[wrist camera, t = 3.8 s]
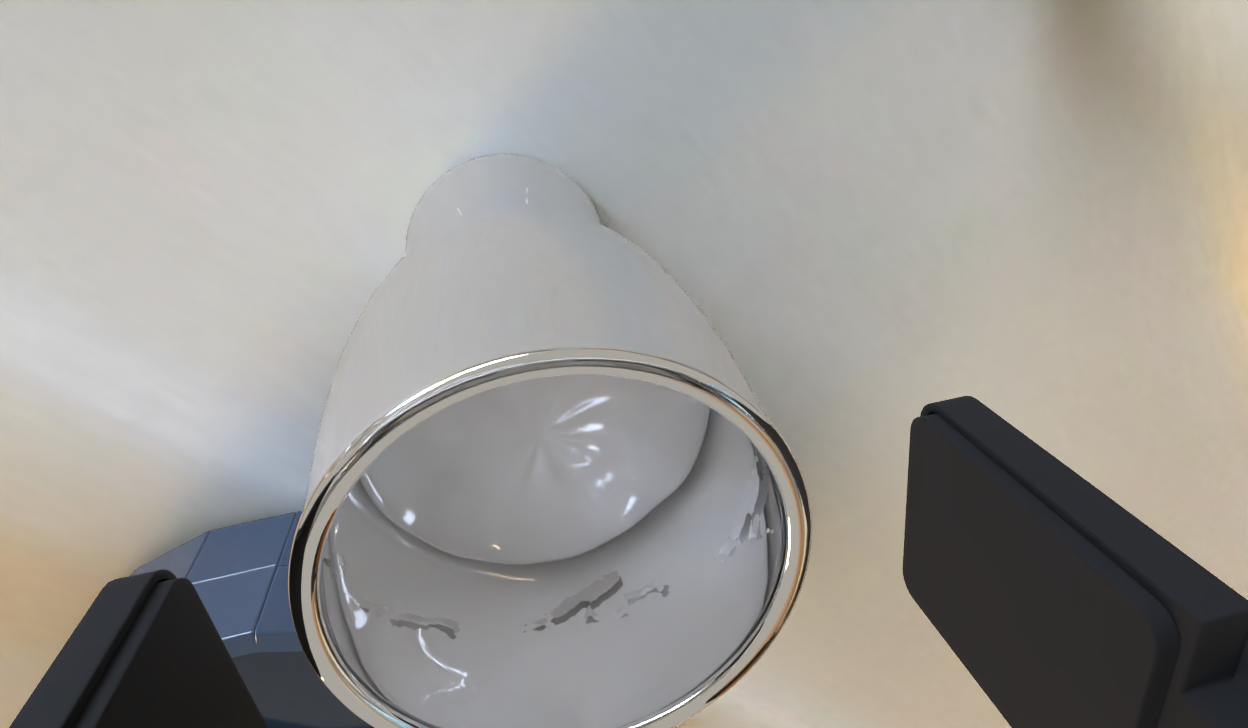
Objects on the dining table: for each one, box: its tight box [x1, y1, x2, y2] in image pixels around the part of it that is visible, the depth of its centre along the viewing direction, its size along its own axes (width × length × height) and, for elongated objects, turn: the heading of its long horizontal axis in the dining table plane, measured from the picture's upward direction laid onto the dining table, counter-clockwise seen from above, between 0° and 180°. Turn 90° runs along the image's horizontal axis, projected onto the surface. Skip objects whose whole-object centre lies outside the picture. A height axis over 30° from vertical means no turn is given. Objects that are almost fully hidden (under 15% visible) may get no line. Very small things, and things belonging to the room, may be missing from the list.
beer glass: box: [288, 154, 812, 728], centre depth 16 cm, size 7×7×15 cm
